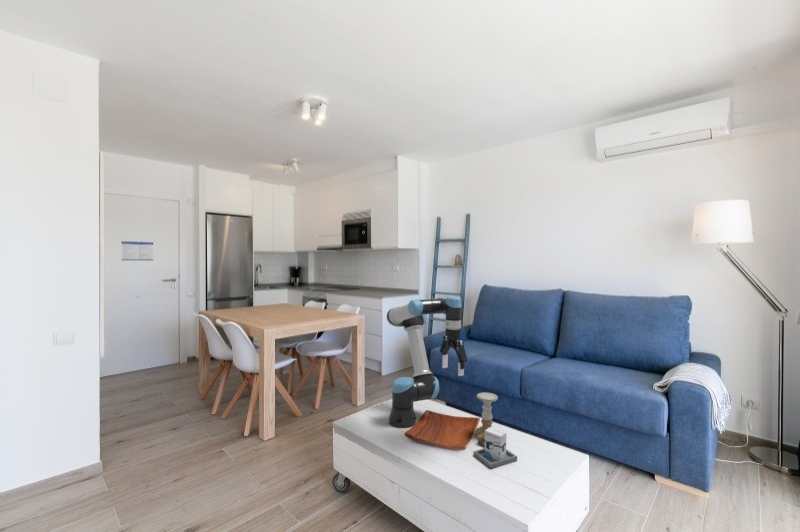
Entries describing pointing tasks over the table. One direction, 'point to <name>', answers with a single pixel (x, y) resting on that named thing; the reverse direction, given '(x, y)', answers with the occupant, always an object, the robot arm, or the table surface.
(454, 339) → the robot arm
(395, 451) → the table surface
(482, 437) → the walnut block
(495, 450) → the ink box
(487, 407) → the candle holder
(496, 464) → the tray
